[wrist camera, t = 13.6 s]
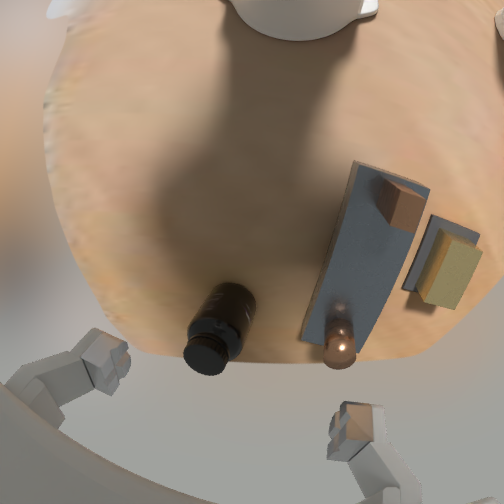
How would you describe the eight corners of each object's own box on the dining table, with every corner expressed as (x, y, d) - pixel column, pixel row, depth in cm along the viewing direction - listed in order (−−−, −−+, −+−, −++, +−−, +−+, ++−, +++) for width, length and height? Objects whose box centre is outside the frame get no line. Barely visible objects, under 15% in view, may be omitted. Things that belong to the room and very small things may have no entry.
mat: (431, 214, 29) (433, 215, 28) (478, 233, 28) (480, 234, 27) (402, 286, 33) (403, 288, 32) (448, 298, 32) (449, 301, 32)
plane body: (353, 160, 29) (370, 173, 20) (418, 182, 28) (454, 204, 19) (303, 321, 38) (296, 374, 29) (356, 334, 37) (361, 387, 28)
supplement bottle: (267, 307, 39) (247, 371, 28) (232, 328, 41) (206, 389, 31) (233, 271, 37) (200, 328, 27) (200, 295, 40) (163, 351, 30)
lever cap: (439, 227, 28) (452, 239, 25) (468, 238, 28) (483, 251, 24) (415, 285, 32) (423, 302, 28) (444, 293, 31) (454, 309, 28)
